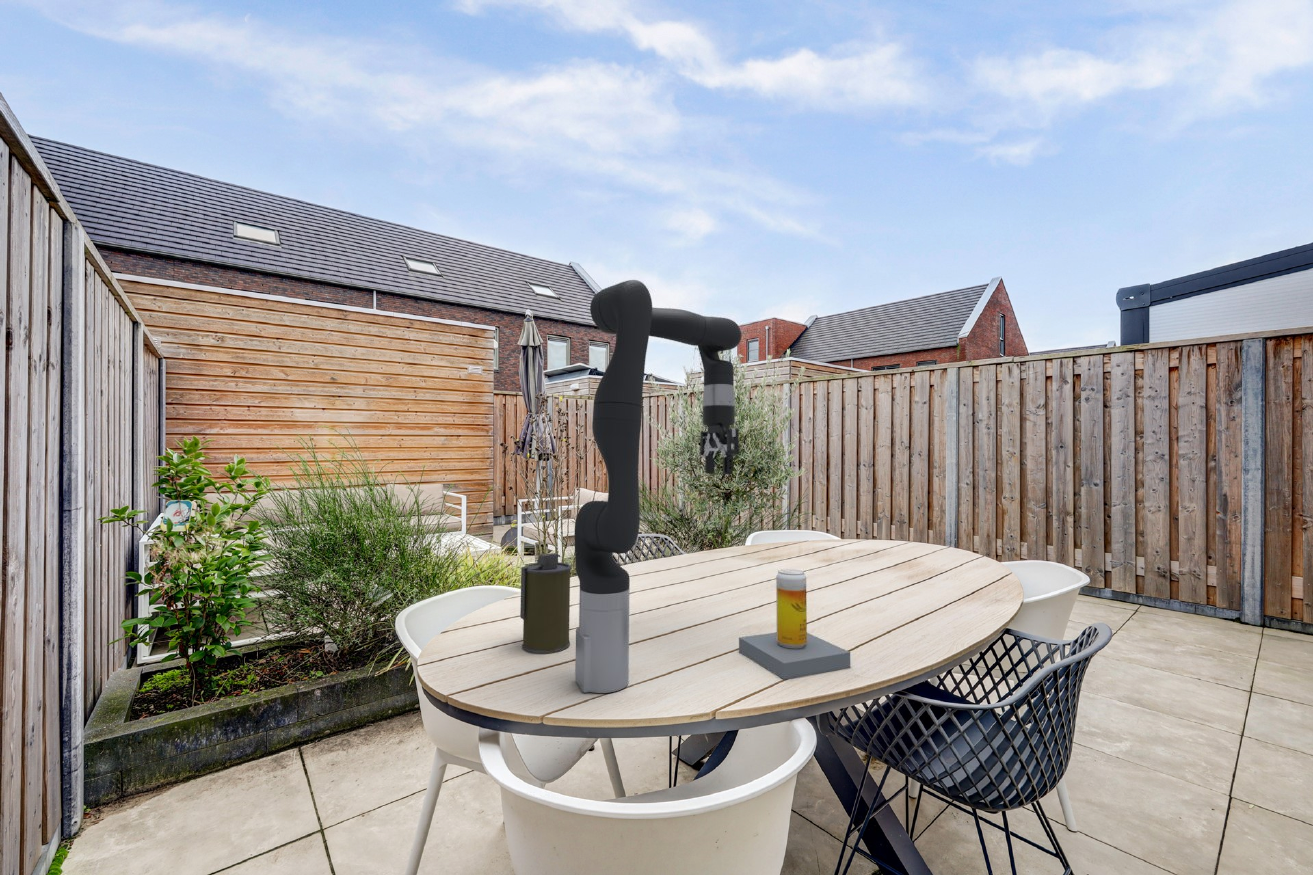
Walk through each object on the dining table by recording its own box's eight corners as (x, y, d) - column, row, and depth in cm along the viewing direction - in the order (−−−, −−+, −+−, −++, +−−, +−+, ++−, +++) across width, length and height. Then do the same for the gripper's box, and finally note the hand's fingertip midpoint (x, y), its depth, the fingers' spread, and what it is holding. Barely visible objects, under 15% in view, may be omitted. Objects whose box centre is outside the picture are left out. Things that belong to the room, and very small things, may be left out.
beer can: (807, 650, 106) (806, 574, 107) (776, 647, 108) (775, 573, 109) (806, 641, 112) (805, 569, 113) (777, 638, 114) (776, 568, 115)
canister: (559, 635, 124) (560, 549, 125) (577, 648, 116) (579, 555, 117) (513, 643, 119) (515, 553, 120) (529, 657, 110) (531, 560, 111)
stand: (784, 679, 100) (784, 663, 100) (738, 651, 114) (738, 637, 115) (850, 667, 106) (850, 652, 106) (799, 642, 121) (799, 628, 121)
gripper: (748, 403, 120) (748, 474, 119) (717, 408, 133) (717, 473, 133) (719, 401, 117) (719, 474, 117) (690, 407, 130) (690, 473, 130)
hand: (718, 473), depth 125 cm, fingers open, 8 cm apart
